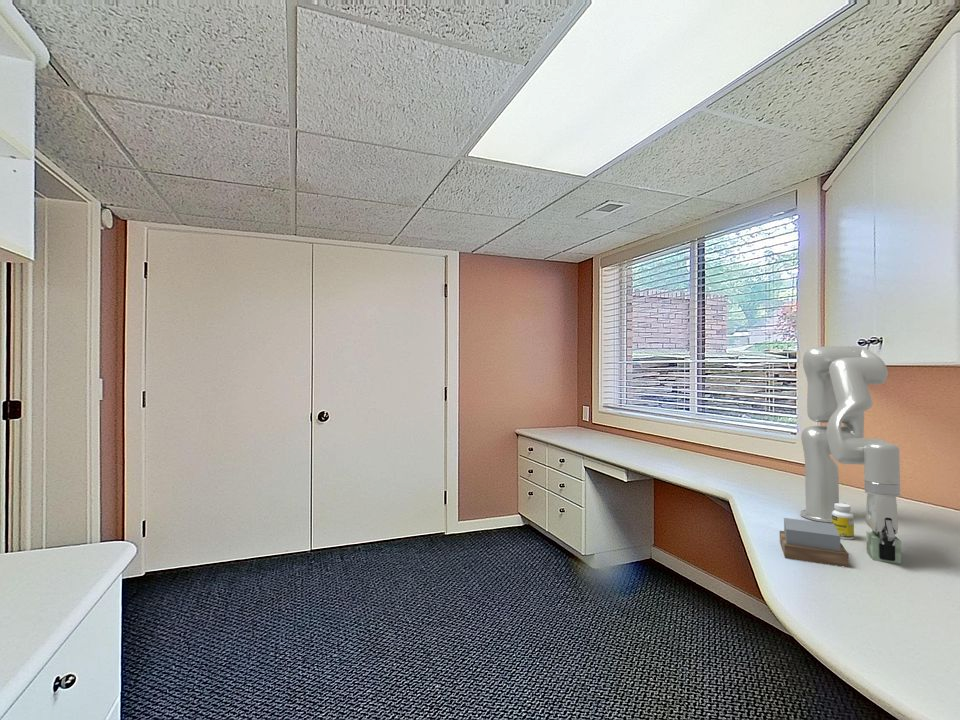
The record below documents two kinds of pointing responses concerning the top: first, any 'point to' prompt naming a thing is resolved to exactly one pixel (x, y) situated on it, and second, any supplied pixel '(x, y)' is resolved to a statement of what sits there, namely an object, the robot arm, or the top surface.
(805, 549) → the tower base block
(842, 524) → the supplement bottle
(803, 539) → the tower top block
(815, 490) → the robot arm
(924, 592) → the top surface
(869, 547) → the sage cube
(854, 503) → the top surface
